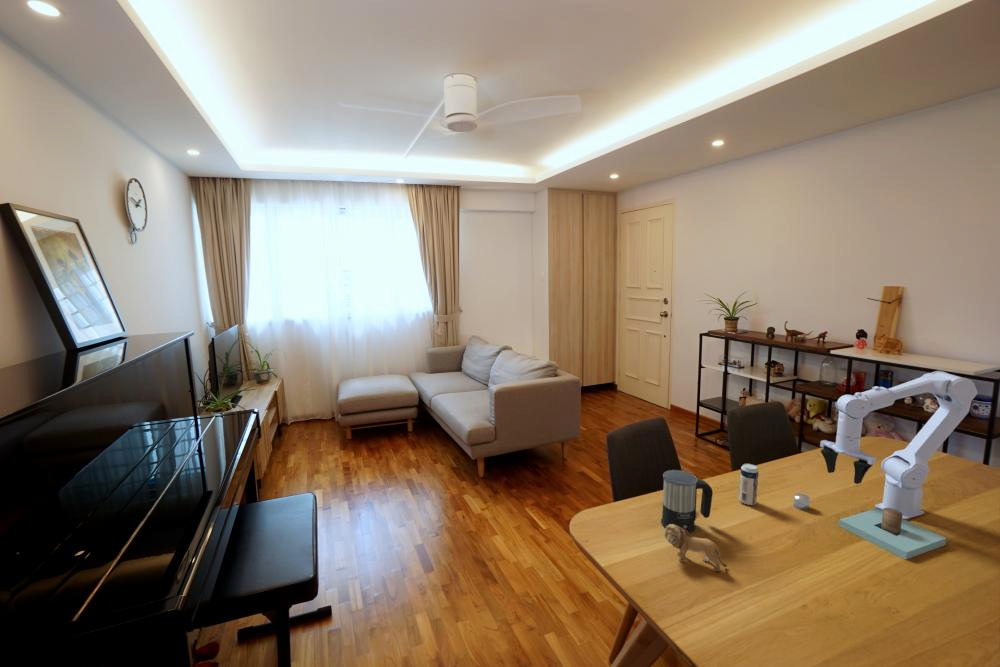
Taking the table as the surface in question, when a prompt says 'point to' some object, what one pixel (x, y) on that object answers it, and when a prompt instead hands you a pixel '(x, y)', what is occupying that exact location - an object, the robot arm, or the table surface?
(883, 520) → the walnut pin
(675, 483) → the milk frother
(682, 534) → the lion figurine
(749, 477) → the beer can
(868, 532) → the hole board
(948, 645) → the table surface
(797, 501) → the grey round piece
